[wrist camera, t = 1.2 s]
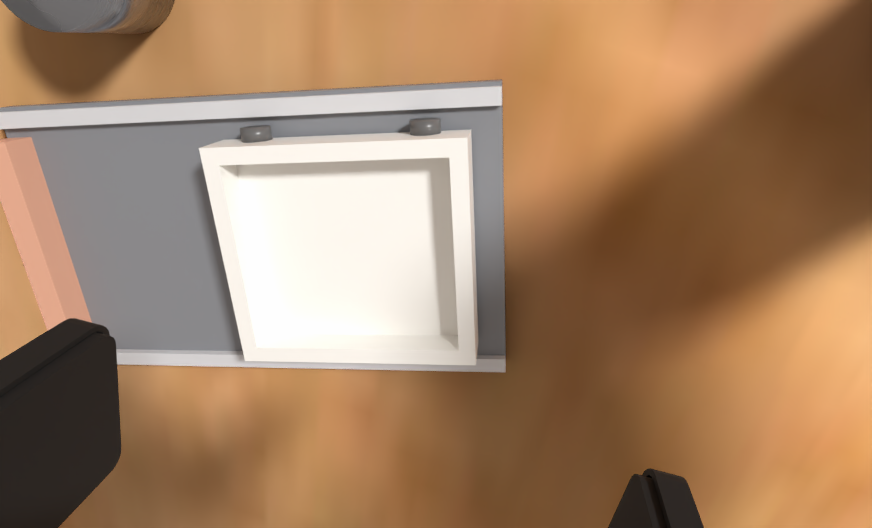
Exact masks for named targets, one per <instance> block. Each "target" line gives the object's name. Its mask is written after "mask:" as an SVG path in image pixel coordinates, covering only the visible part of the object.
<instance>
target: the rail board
mask: <svg viewBox="0 0 872 528" xmlns="http://www.w3.org/2000/svg"><path fill="white" fill-rule="evenodd" d="M431 117H433V118H440V119H441V131H447V130H471V138H472V168H473V197H474V226H475V255H476V284H477V314H478V350H477V359H476V365H431V364H378V363H325V362H272V361H245V359H244V354H243V349H242V345H241V340H240V336H239V331H238V327H237V322H236V317H235V313H234V308H233V304H232V299H231V294H230V290H229V285H228V281H227V276H226V271H225V267H224V262H223V258H222V253H221V248H220V244H219V239H218V235H217V230H216V225H215V221H214V216H213V212H212V207H211V202H210V198H209V193H208V189H207V184H206V179H205V175H204V170H203V166H202V161H201V156H200V152H199V148H201V147H204V146H207V145H210V144H213V143H216V142H219V141H222V140H230V139H241V135H240V129H239V128H242V127H247V126H255V125H270V126H271V131H272V137H273V138H278V137H302V136H326V135H350V134H375V133H399V132H410V125H409V120H411V119H417V118H431ZM0 129H4V130H5V133H6V136H7V138H5V139H0V201H1V204H2V206H3V209H4V212H5V215H6V217H7V220H8V223H9V226H10V228H11V231H12V234H13V237H14V239H15V242H16V245H17V248H18V251H19V253H20V256H21V259H22V262H23V264H24V267H25V270H26V273H27V275H28V278H29V281H30V284H31V286H32V289H33V292H34V295H35V297H36V300H37V303H38V306H39V308H40V311H41V314H42V317H43V319H44V322H45V325H46V328H47V330H50V329H51V328H53V327H55V326H56V325H58V324H60V323H61V322H63V321H65V320H67V319H69V318H76V319H80V320H84V321H88V322H91V323H95V324H99V325H103V326H105V327H107V329H108V330H109V334H110V336H111V337H113V338H114V339H115V342H116V353H117V364H121V365H170V366H218V367H267V368H316V369H364V370H413V371H462V372H506V334H505V259H504V184H503V109H502V80H486V81H468V82H449V83H430V84H412V85H393V86H375V87H356V88H337V89H319V90H300V91H281V92H263V93H244V94H226V95H207V96H188V97H170V98H151V99H133V100H114V101H95V102H77V103H58V104H40V105H21V106H9V107H1V108H0Z"/></svg>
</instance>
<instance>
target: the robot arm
mask: <svg viewBox="0 0 872 528" xmlns="http://www.w3.org/2000/svg"><path fill="white" fill-rule="evenodd" d="M120 454H121V435H120V415H119V394H118V374H117V353H116V342H115V339H114V338H113V337H111V336H110V334H109V330H108V329H107V327H105V326H103V325H99V324H95V323H91V322H88V321H84V320H80V319H76V318H69V319H67V320H65V321H63V322H61V323H60V324H58V325H56V326H55V327H53V328H51V329H50V330H48V331H47V332H45V333H43V334H42V335H40V336H38V337H37V338H35V339H34V340H32V341H30V342H29V343H27V344H26V345H24V346H22V347H21V348H19V349H17V350H16V351H14V352H13V353H11V354H9V355H8V356H6V357H4V358H3V359H1V360H0V528H58V527H59V526H60V525H61V524H62V523H63V522H64V521H65V520H66V518H67V517H68V516H69V515H70V514H71V513H72V512H73V511H74V510H75V509H76V508H77V507H78V506H79V505H80V504H81V503H82V502H83V501H84V500H85V499H86V497H87V496H88V495H89V494H90V493H91V492H92V491H93V490H94V489H95V488H96V487H97V486H98V485H99V484H100V483H101V482H102V481H103V480H104V479H105V477H106V476H107V475H108V474H109V473H110V472H111V471H112V470H113V469H114V467H115V466H116V464H117V462H118V460H119V457H120ZM608 528H704V527H703V524H702V521H701V519H700V516H699V513H698V510H697V508H696V505H695V502H694V499H693V497H692V494H691V491H690V489H689V486H688V483H687V482H686V480H685V479H684V478H683V477H681V476H677V475H673V474H669V473H665V472H662V471H658V470H654V469H647V470H645V471H644V473H643V475H638V474H634V475H633V476H632V478H631V479H630V481H629V484H628V486H627V488H626V490H625V492H624V494H623V497H622V499H621V501H620V503H619V505H618V507H617V510H616V512H615V514H614V516H613V518H612V520H611V523H610V525H609V527H608Z"/></svg>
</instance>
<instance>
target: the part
mask: <svg viewBox="0 0 872 528" xmlns="http://www.w3.org/2000/svg"><path fill="white" fill-rule="evenodd" d="M2 2H3V3H4V4H5V5H6V6H7V7H8V9H9V10H11V11H12V12H13V13H14V14H15V15H16V16H17V17H19V18H20V19H21V20H23V21H24V22H26V23H28V24H29V25H31V26H34V27H36V28H38V29H41V30H45V31H50V32H74V33H121V34H141V33H146V32H149V31H152V30H154V29H156V28H157V27H158V26H160V25H161V24H162V23H163V22H164V21H165V20H166V18H167V17H168V15H169V14H170V12H171V10H172V7H173V4H174V0H2Z"/></svg>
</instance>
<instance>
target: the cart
mask: <svg viewBox="0 0 872 528" xmlns="http://www.w3.org/2000/svg"><path fill="white" fill-rule="evenodd" d="M409 125H410V132H399V133H375V134H350V135H326V136H302V137H278V138H273V137H272V131H271V126H270V125H255V126H247V127H242V128H239V129H240V135H241V139H230V140H222V141H219V142H216V143H213V144H210V145H207V146H204V147H201V148H199V152H200V156H201V161H202V166H203V170H204V175H205V179H206V184H207V189H208V193H209V198H210V202H211V207H212V212H213V216H214V221H215V225H216V230H217V235H218V239H219V244H220V248H221V253H222V258H223V262H224V267H225V271H226V276H227V281H228V285H229V290H230V294H231V299H232V304H233V308H234V313H235V317H236V322H237V327H238V331H239V336H240V340H241V345H242V349H243V354H244V359H245V361H272V362H325V363H378V364H431V365H476V359H477V350H478V314H477V284H476V255H475V226H474V197H473V168H472V138H471V130H447V131H441V119H440V118H433V117H431V118H417V119H411V120H409Z"/></svg>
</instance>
